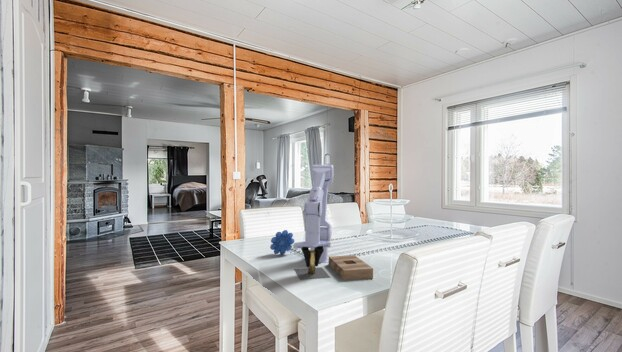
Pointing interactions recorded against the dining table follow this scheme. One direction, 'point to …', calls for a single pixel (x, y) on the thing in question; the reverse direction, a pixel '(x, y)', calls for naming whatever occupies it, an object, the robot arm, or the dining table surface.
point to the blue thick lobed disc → (282, 242)
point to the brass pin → (312, 262)
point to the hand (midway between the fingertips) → (311, 265)
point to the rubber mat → (304, 274)
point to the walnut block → (350, 267)
